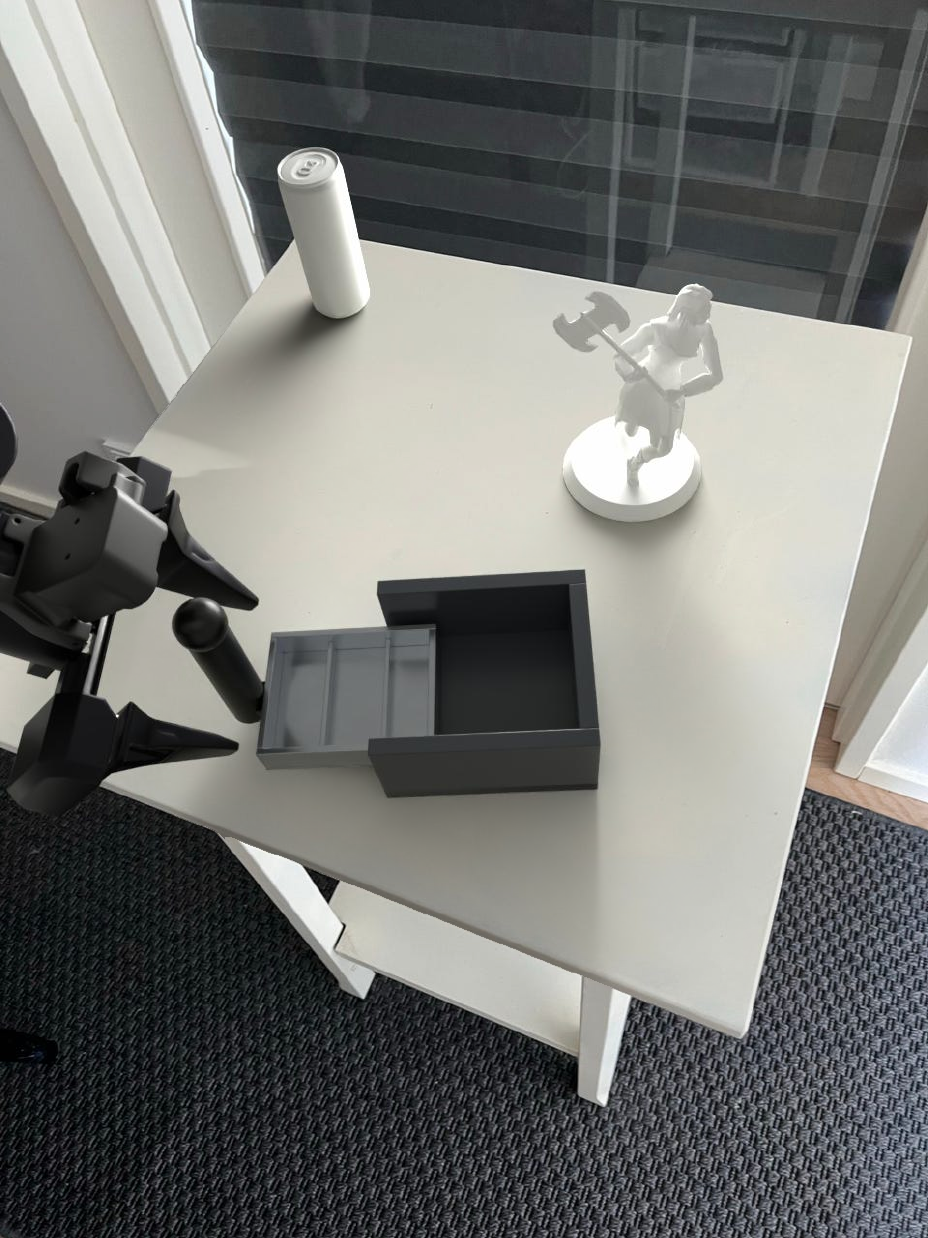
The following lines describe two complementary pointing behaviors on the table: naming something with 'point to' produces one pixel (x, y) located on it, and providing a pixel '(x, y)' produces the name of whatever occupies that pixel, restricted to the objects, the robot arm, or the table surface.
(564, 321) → the figurine
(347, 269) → the beverage can
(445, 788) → the grey drawer case
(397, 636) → the pull-out drawer
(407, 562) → the table surface
